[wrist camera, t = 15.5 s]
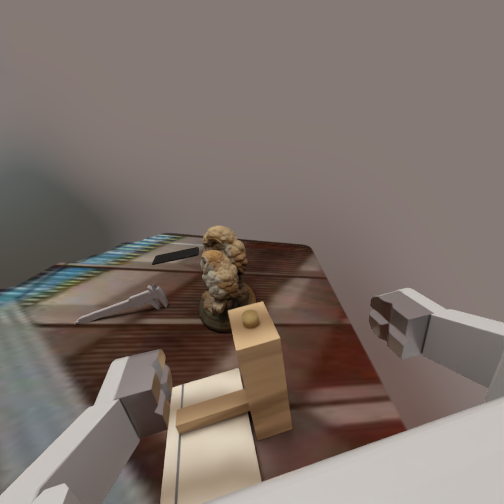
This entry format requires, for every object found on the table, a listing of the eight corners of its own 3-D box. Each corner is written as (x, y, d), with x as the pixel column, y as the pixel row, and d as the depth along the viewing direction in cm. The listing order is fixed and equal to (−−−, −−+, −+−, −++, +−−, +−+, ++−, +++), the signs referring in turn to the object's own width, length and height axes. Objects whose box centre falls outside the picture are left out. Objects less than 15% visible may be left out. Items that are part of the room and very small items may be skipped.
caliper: (169, 305, 53) (160, 281, 50) (168, 308, 52) (159, 284, 49) (77, 322, 52) (64, 299, 50) (74, 326, 51) (60, 302, 49)
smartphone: (198, 254, 77) (151, 264, 76) (198, 256, 78) (152, 266, 76) (198, 246, 83) (155, 255, 82) (199, 248, 84) (156, 257, 82)
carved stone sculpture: (199, 289, 57) (180, 221, 51) (246, 278, 59) (234, 211, 52) (200, 341, 41) (173, 250, 34) (265, 323, 42) (252, 234, 36)
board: (325, 794, 11) (324, 793, 11) (129, 909, 10) (115, 917, 9) (240, 375, 33) (238, 367, 32) (175, 395, 32) (172, 387, 31)
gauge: (292, 428, 26) (278, 329, 20) (182, 467, 24) (135, 369, 19) (275, 382, 31) (261, 293, 26) (185, 410, 30) (149, 322, 24)
